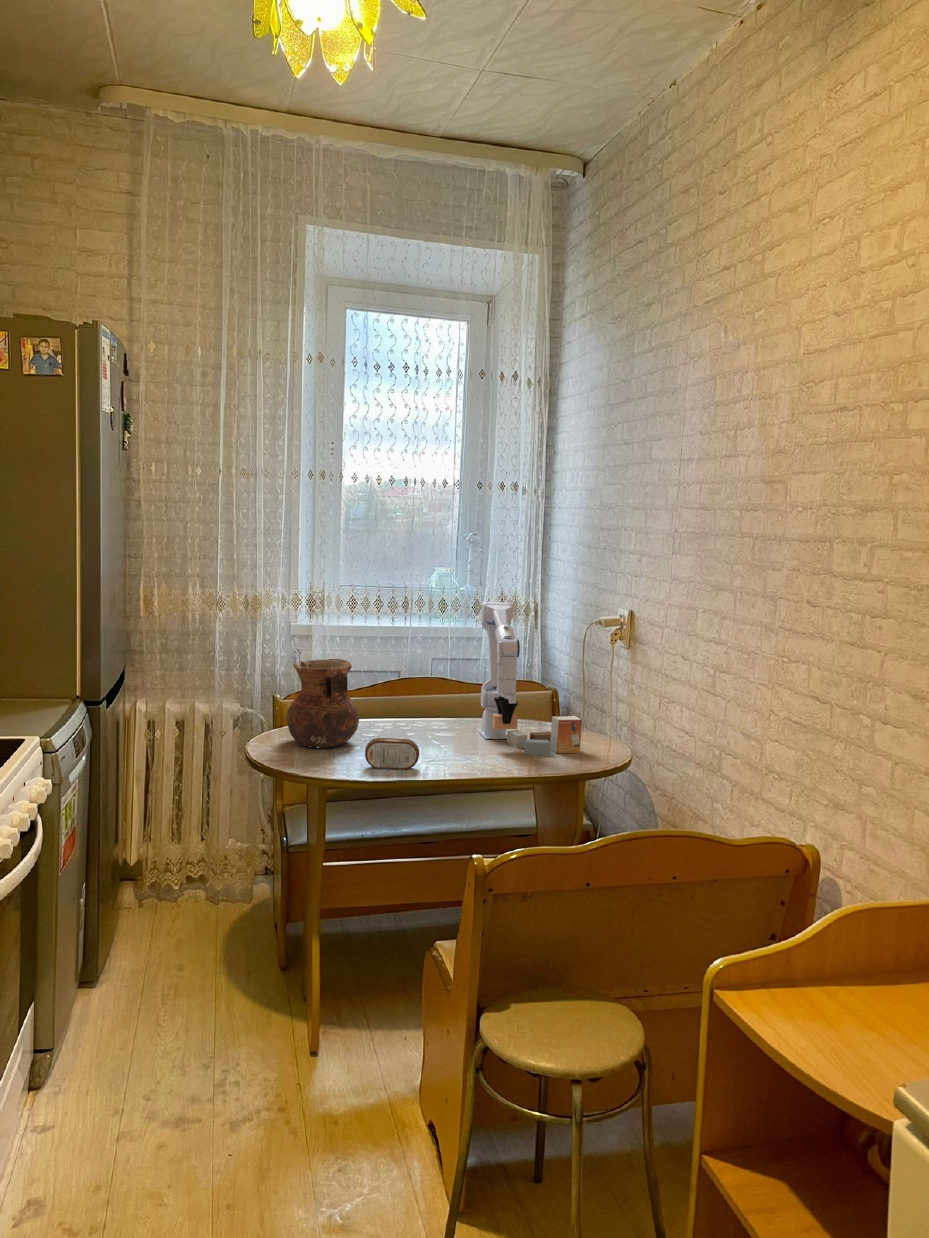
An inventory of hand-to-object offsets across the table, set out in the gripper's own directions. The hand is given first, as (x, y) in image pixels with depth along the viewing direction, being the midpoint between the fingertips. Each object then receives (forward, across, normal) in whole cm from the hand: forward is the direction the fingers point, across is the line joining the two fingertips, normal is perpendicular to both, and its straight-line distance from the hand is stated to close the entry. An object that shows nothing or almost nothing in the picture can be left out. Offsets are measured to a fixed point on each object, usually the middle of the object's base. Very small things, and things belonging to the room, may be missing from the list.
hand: (504, 722), depth 280 cm
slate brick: (+9, +6, +9) cm, 14 cm away
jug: (+9, -11, -54) cm, 56 cm away
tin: (+9, +18, -38) cm, 43 cm away
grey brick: (+9, -5, +6) cm, 12 cm away
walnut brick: (+9, -4, +14) cm, 17 cm away
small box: (+9, +4, +19) cm, 21 cm away
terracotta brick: (+2, 0, 0) cm, 2 cm away
